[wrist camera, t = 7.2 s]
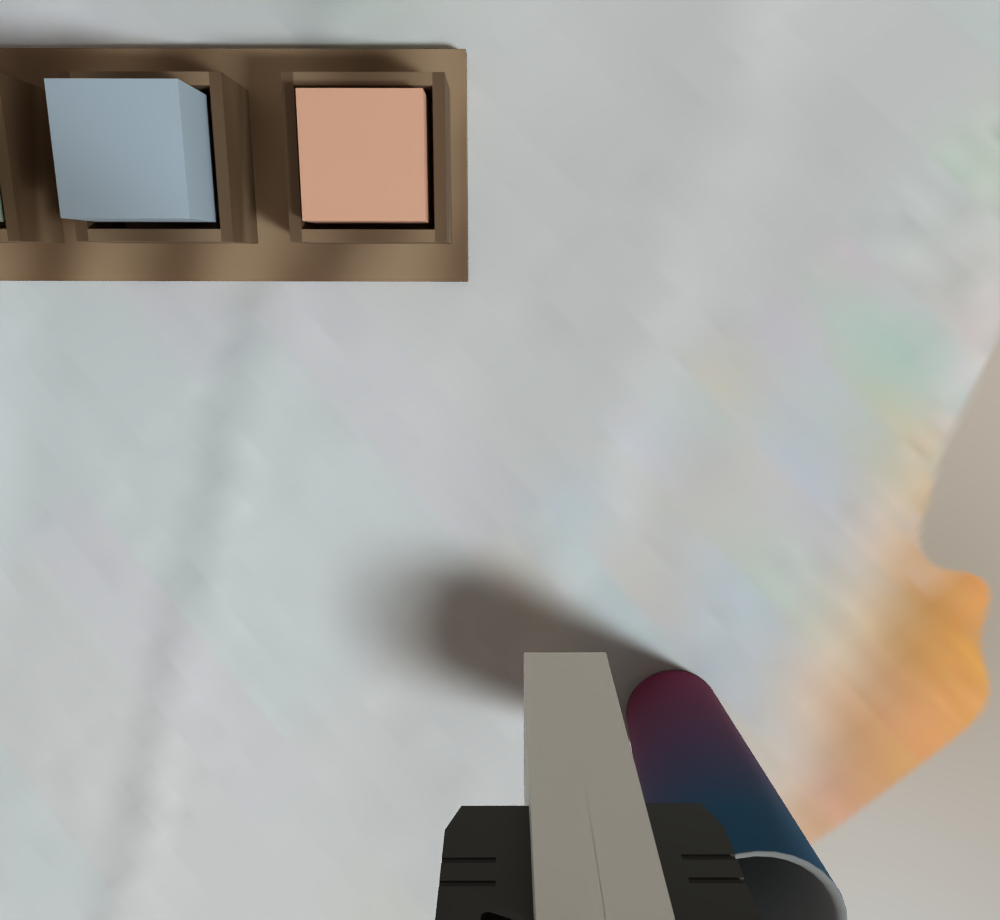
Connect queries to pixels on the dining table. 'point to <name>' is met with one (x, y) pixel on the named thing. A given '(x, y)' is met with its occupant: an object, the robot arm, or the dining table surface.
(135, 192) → the slate key
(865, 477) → the dining table surface
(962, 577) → the dining table surface
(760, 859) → the cup
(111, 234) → the wooden socket tray
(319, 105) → the terracotta key
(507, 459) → the dining table surface
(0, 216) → the sage key
